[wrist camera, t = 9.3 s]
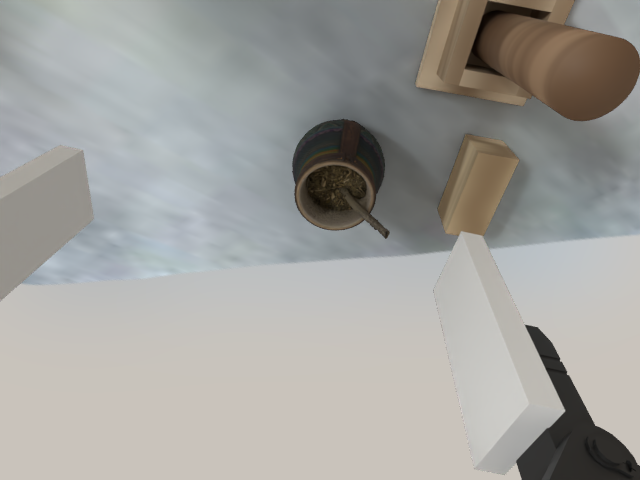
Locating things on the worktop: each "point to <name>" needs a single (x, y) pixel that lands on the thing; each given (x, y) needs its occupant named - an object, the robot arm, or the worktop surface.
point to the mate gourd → (338, 175)
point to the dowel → (559, 63)
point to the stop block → (476, 185)
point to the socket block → (457, 40)
